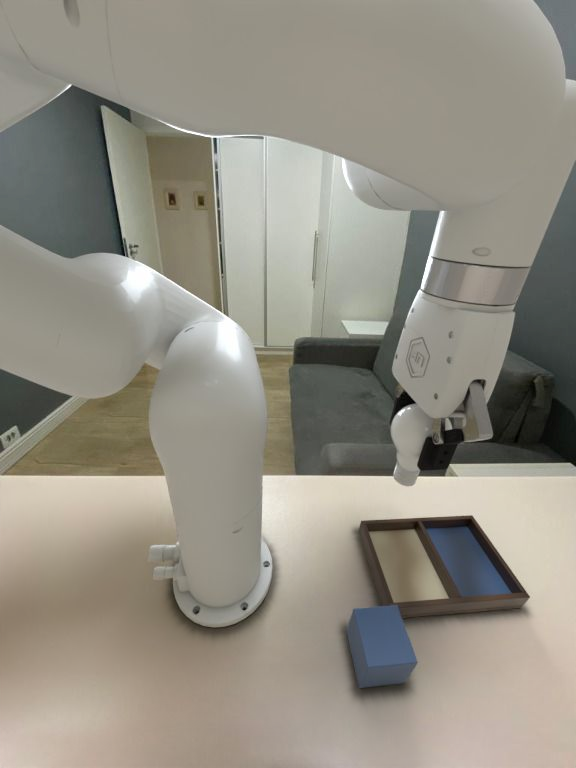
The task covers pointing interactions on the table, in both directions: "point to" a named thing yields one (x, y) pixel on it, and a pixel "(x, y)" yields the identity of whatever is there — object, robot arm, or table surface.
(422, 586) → the sorting tray
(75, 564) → the table surface
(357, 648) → the block
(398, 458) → the lightbulb
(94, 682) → the table surface
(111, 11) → the robot arm
